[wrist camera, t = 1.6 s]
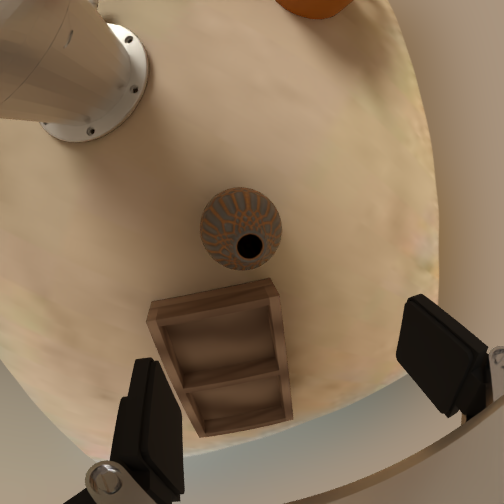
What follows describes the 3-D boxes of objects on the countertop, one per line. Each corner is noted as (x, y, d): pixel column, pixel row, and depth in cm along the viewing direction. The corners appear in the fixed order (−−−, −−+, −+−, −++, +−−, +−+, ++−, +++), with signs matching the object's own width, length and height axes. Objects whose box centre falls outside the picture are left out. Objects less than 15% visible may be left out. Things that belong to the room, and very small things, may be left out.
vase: (200, 253, 29) (201, 293, 21) (200, 183, 27) (199, 197, 19) (268, 251, 30) (293, 289, 22) (272, 184, 28) (301, 198, 20)
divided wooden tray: (151, 301, 30) (146, 321, 26) (270, 278, 31) (279, 295, 28) (198, 416, 37) (199, 437, 33) (286, 399, 38) (293, 419, 35)
